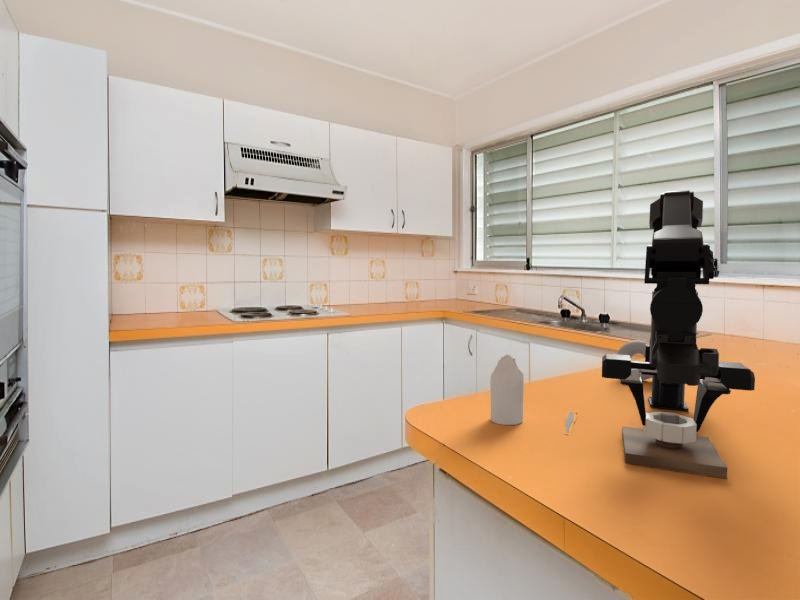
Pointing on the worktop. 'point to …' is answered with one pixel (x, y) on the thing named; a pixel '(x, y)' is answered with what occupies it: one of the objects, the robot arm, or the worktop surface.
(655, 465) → the peg stand
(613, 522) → the worktop surface
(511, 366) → the grey bullet shape
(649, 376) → the donut
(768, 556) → the worktop surface
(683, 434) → the ring
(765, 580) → the worktop surface
